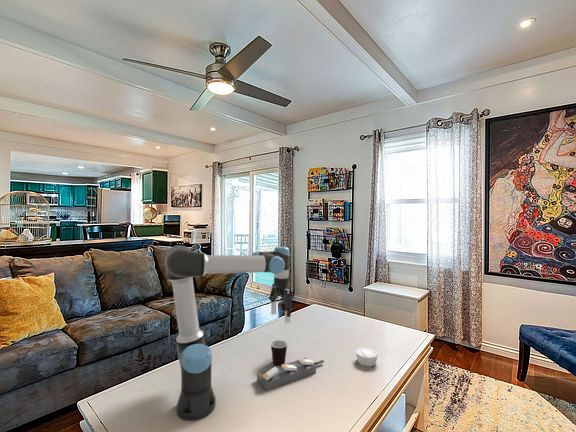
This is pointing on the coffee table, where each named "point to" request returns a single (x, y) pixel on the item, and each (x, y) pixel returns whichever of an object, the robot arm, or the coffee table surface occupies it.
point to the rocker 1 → (270, 373)
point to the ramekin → (366, 356)
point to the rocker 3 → (306, 361)
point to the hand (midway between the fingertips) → (280, 318)
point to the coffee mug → (278, 352)
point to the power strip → (287, 374)
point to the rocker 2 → (289, 367)
